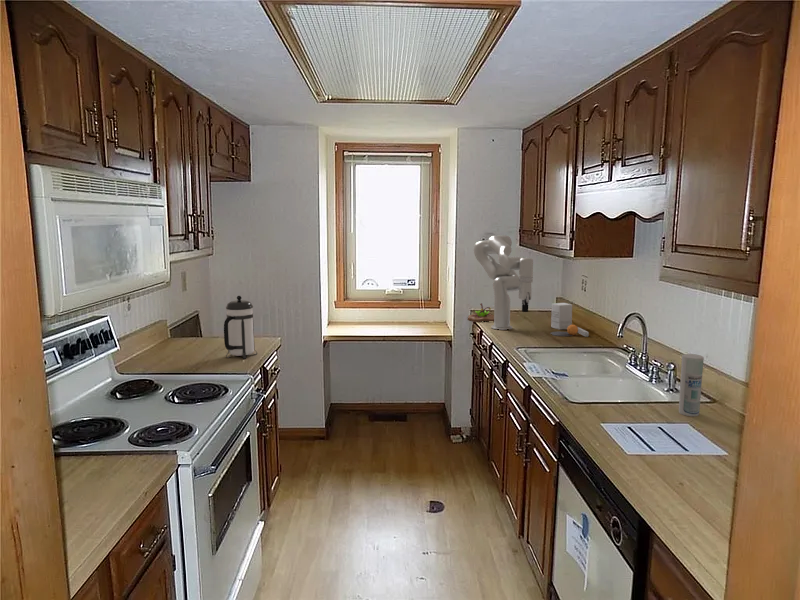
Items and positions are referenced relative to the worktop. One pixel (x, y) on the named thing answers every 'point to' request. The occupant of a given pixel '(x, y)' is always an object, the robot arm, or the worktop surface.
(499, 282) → the robot arm
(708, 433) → the worktop surface
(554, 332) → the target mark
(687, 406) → the spray can
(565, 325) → the supplement box
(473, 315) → the plant
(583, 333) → the stopper wall
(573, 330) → the ball
